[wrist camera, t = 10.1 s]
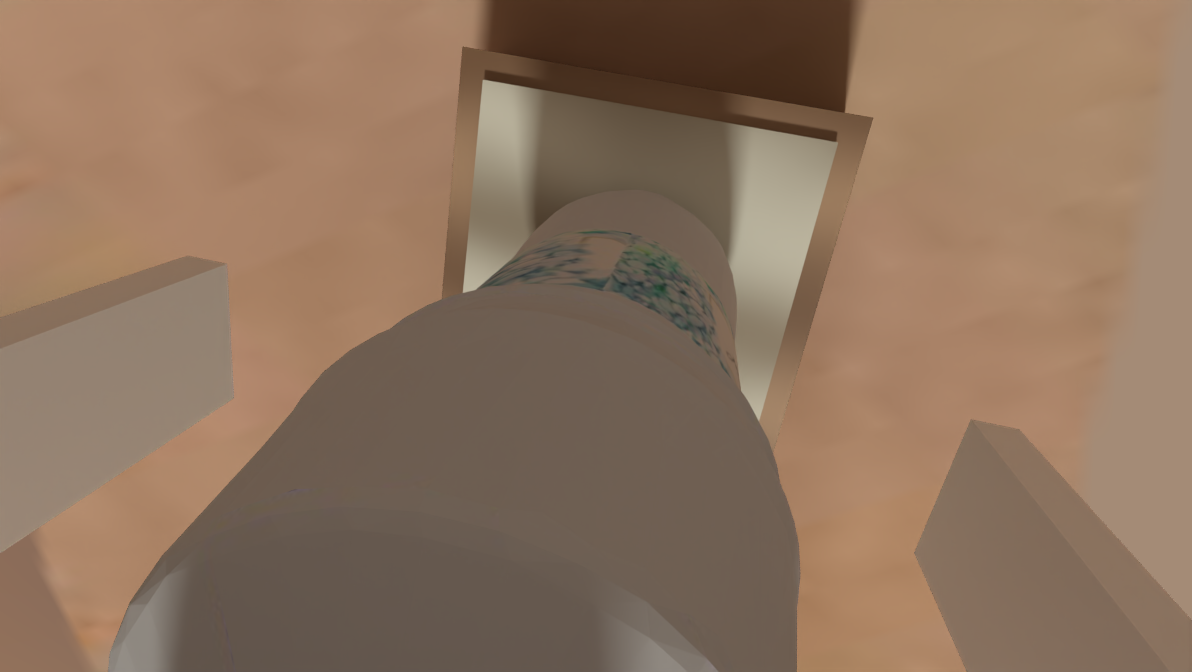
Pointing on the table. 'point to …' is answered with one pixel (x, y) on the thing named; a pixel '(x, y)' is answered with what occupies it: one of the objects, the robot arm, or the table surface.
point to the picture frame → (659, 186)
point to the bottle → (507, 485)
